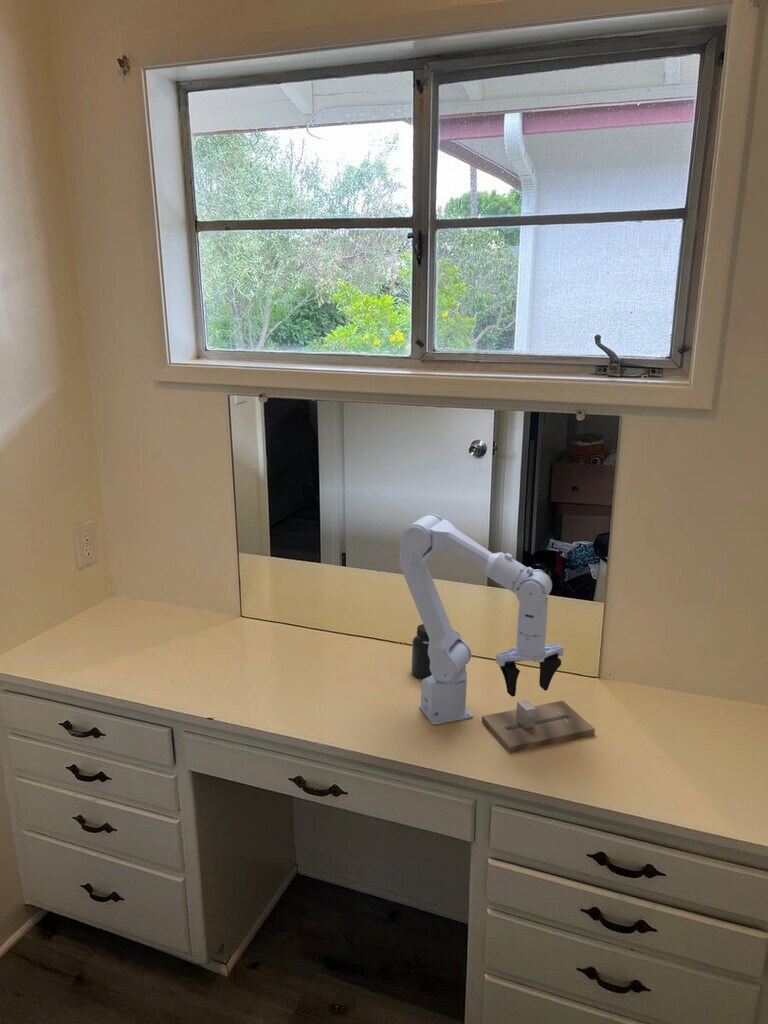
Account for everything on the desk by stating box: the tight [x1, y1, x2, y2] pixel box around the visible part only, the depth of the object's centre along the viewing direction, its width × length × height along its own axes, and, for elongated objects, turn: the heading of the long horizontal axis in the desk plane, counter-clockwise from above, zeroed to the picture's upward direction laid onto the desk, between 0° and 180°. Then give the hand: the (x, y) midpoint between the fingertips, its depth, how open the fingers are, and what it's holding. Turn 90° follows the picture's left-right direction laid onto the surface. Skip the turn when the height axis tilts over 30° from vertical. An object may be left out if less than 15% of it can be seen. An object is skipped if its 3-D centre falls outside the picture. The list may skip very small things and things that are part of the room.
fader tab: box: [516, 699, 536, 729], centre depth 154 cm, size 2×4×4 cm, turn 20°
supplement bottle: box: [411, 623, 432, 680], centre depth 178 cm, size 7×7×12 cm
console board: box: [481, 700, 596, 754], centre depth 156 cm, size 20×12×2 cm, turn 110°
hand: (527, 691), depth 153 cm, fingers open, 7 cm apart
